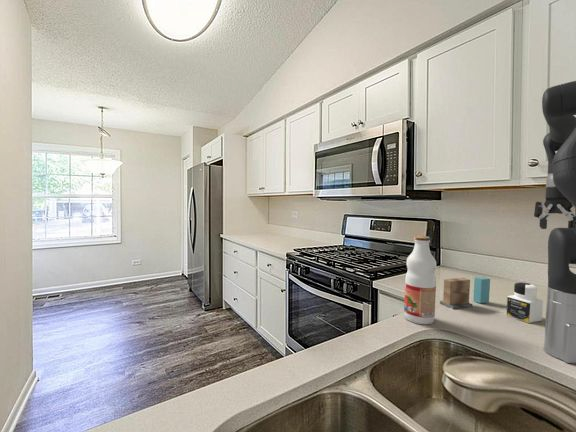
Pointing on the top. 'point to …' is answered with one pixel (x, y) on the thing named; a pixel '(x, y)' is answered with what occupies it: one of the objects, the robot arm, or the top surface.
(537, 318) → the medicine bottle
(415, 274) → the fruit juice
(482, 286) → the teal block
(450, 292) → the brown block
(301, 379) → the top surface
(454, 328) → the top surface
